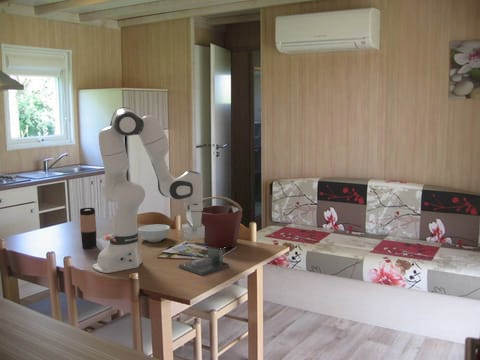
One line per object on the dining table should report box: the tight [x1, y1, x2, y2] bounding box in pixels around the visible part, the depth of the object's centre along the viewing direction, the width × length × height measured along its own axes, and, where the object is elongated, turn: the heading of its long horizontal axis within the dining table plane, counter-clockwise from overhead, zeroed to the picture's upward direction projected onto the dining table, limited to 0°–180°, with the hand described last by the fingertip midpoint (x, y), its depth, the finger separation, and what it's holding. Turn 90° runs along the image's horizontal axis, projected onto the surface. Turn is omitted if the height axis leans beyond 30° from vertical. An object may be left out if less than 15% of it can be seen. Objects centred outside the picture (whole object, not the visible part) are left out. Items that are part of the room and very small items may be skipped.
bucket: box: [201, 196, 243, 248], centre depth 280 cm, size 24×22×25 cm
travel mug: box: [79, 207, 97, 250], centre depth 278 cm, size 8×8×20 cm
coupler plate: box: [178, 246, 230, 276], centre depth 243 cm, size 16×16×8 cm
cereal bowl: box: [137, 223, 171, 243], centre depth 291 cm, size 17×17×7 cm
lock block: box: [181, 223, 205, 241], centre depth 260 cm, size 10×6×6 cm, turn 105°
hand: (193, 232), depth 260 cm, fingers closed on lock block, 6 cm apart
